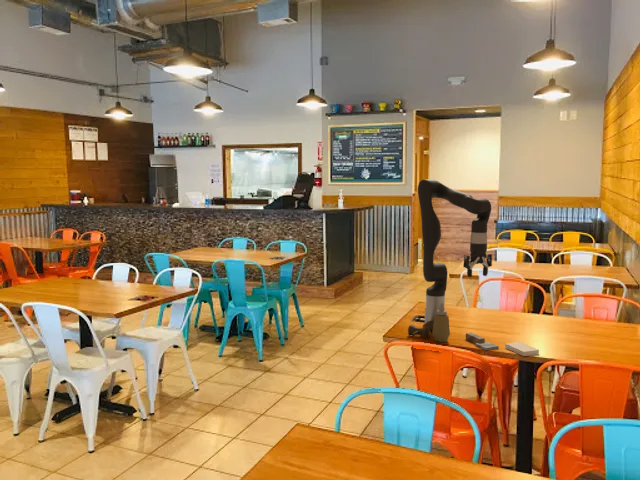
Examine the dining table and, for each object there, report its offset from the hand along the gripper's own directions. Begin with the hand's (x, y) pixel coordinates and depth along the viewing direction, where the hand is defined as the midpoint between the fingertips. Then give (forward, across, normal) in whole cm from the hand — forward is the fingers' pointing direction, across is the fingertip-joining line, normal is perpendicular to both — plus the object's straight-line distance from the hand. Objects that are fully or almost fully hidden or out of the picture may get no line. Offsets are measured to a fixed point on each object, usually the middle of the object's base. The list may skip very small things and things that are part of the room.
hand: (477, 276), depth 252 cm
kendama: (+30, +20, -14) cm, 39 cm away
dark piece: (+30, +3, +8) cm, 31 cm away
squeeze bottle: (+30, +17, -3) cm, 35 cm away
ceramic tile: (+29, -8, +16) cm, 34 cm away
